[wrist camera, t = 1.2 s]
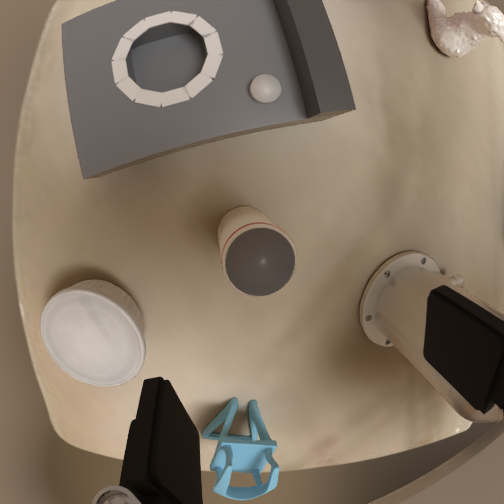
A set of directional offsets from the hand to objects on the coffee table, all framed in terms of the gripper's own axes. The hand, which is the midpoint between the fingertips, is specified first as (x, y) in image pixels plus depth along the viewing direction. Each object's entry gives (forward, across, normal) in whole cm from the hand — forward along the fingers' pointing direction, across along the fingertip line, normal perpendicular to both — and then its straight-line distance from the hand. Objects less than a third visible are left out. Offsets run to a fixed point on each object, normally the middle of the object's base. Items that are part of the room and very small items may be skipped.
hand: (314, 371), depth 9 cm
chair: (+21, +7, +24) cm, 32 cm away
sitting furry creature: (+21, -32, -20) cm, 43 cm away
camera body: (+20, +1, -17) cm, 27 cm away
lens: (+20, 0, 0) cm, 20 cm away
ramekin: (+21, +17, +5) cm, 27 cm away
